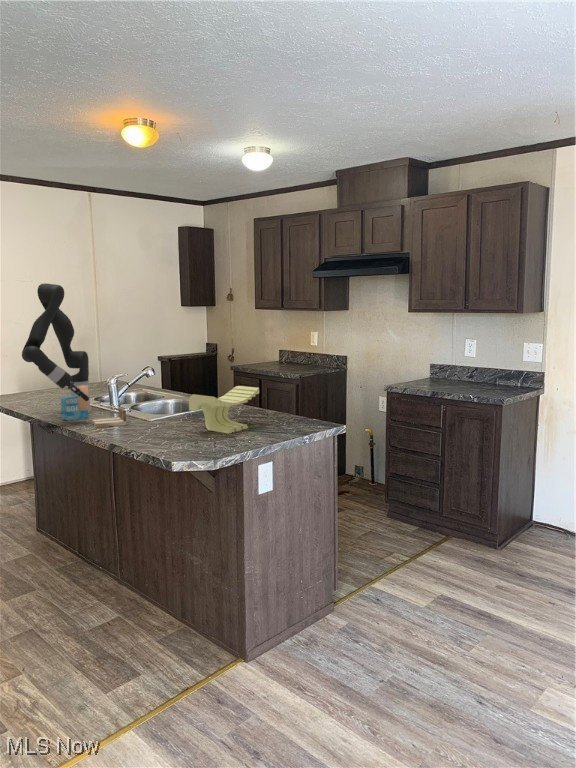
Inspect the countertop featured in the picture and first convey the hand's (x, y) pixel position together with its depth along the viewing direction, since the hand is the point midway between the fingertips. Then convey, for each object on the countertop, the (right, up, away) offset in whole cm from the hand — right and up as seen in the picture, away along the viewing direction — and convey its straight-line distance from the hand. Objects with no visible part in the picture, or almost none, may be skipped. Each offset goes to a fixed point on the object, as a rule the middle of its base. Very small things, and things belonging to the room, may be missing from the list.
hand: (87, 398), depth 289 cm
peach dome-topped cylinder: (-2, -5, 0) cm, 6 cm away
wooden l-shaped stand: (+12, -12, -4) cm, 18 cm away
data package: (-10, -11, +11) cm, 18 cm away
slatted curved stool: (+70, -14, -17) cm, 74 cm away
